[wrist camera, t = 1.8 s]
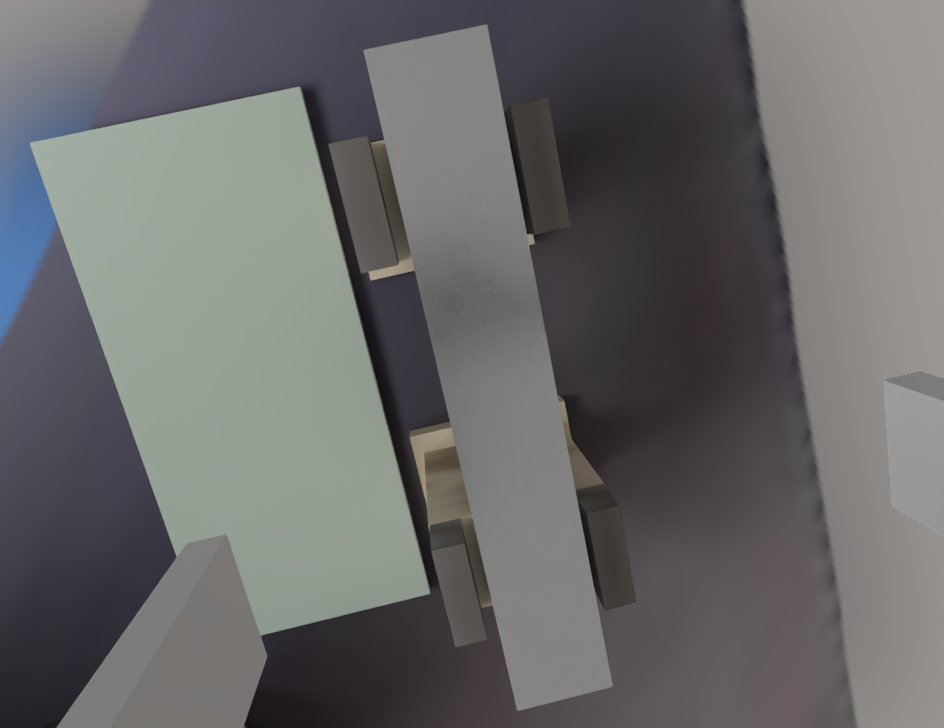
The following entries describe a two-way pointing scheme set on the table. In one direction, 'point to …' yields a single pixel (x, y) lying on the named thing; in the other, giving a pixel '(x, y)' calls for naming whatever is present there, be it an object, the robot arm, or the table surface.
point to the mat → (240, 349)
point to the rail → (492, 354)
